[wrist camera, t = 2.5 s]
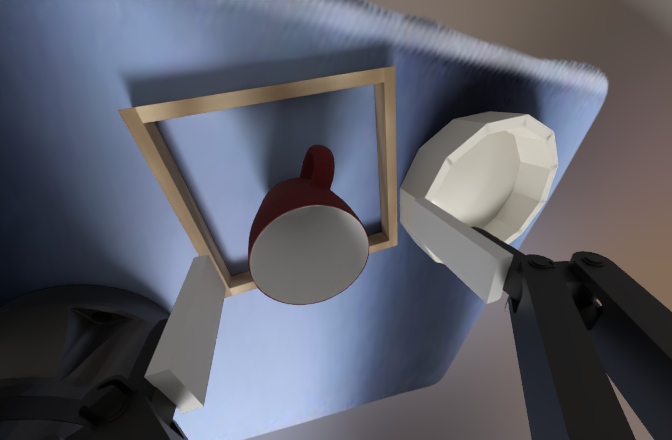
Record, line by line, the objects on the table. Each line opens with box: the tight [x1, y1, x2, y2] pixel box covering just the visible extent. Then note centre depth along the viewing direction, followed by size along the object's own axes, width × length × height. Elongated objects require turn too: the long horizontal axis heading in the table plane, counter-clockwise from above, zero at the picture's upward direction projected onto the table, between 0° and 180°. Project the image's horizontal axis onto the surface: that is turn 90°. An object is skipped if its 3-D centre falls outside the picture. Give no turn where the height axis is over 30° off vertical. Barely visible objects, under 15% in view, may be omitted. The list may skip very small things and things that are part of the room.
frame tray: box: [118, 66, 397, 298], centre depth 22 cm, size 20×18×2 cm
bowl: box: [400, 111, 558, 263], centre depth 28 cm, size 17×17×4 cm
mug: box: [248, 145, 369, 305], centre depth 19 cm, size 10×8×10 cm
